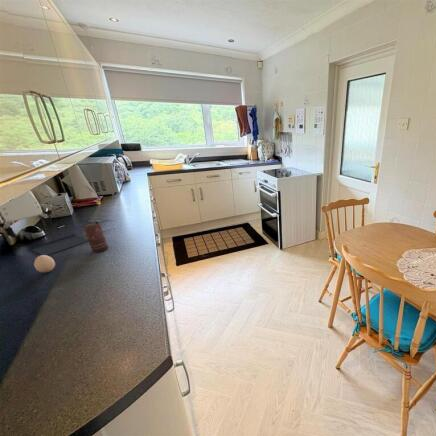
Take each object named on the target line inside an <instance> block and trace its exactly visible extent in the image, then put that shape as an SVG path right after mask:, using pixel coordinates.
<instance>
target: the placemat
mask: <svg viewBox="0 0 436 436" xmlns="http://www.w3.org/2000/svg"><path fill="white" fill-rule="evenodd" d="M86 243H89V241H88V238H85V237H82V236H80V235H79V236H78V235H76V234H71V235H69V236H65V237H63V238H62V237H61V238H60V239H56V240H53V241H49V242H47V243H44V244H40V245H37V246H34V247H31V248H28V250H29V251H31V252H34V253H35V254H38V255H39V256H41V255H47V256H49V257H50V256H52V255H54V254H57V253H59V252H63V251H65V250H68V249H71V248H73V247H77V246H79V245H83V244H86Z"/></svg>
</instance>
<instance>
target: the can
mask: <svg viewBox="0 0 436 436" xmlns="http://www.w3.org/2000/svg"><path fill="white" fill-rule="evenodd" d="M83 230H84V232H85V236H86V237H87V238H86V239H87V240H88V243H89V246H90V248H91V251H92V252H93V253H96V254H98V253H102V252H105V251H106V250H108V248H109V246H108V243H107V240H106V236H105V233H104V230H103V228H102V225H101V223H100V222H99V221H92V222H91V221H90V222H87V223H84V224H83Z"/></svg>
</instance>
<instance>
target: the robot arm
mask: <svg viewBox="0 0 436 436" xmlns="http://www.w3.org/2000/svg"><path fill="white" fill-rule="evenodd" d="M42 208H45V210H44V212H43V209H42ZM52 211H53V205H52V204H48V203H46V204H45V203H39V201H38V200H37V198H36V197H35V195H34V193H33V192H32V191H31V190H30V191H28V192H26V193H25V194H23V195H21V196H19V197H17V198H15V199H13V200H11V201H9V202H7V203H6V204H4V205H2V206H0V219H1V220H2V222H0V228H2V229H3V230H4V232H5V234H6V236H8V237H11V238H13V239H14V238H16V237H17V236H16V234H15V232H14V229H13V228H12V227H11V224H12V222H17V221H20V220H21V221H22V220H25V219H29V218H34V217H37V216H40V217H41V218H40V220H41V223H42V225H43V227H44V228H47V229H49V228H51V226H50V225H51V222H50V220H49V217H50V215H51V214H52Z"/></svg>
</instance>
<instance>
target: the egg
mask: <svg viewBox="0 0 436 436" xmlns="http://www.w3.org/2000/svg"><path fill="white" fill-rule="evenodd" d="M33 265H34V268H35V270H36V271H37V272H40V273H44V274H45V273H49V272H52V271H53V269H54V268H55V266H56V262H55V260H54V258H53V257H51V256H50V255H49V256H47V255H38V256H37V257H36V258H35V259H34V262H33Z"/></svg>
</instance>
